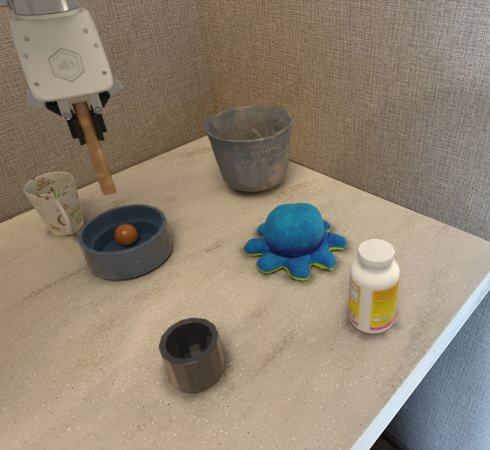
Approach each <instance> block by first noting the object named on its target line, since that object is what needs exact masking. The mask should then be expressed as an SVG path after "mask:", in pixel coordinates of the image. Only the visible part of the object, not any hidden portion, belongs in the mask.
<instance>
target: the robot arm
mask: <svg viewBox="0 0 490 450" xmlns="http://www.w3.org/2000/svg"><path fill="white" fill-rule="evenodd" d="M1 8H2V9H3V8H5V9H9V11H12V12H13V16H11V17H10V18H9V26H10V31H11V36H12V40H13V43H14V47H15V50H16V53H17V56H18V59H19V62H20V65H21V68H22V71H23V74H24V77H25V79H26V82H27V97H26V104H27V106H28V107H31V108H35V109H42V110H48V111H50V112H52V113H53V114H56V115H58V116H60V117H61V118H62V119H63V120H65V121H66V123H67V126H68V129H69V131H70V135H71V137H72V138H71V139H73V140H76V139H78V142H79V144H80V146H85V145H86V143H85V140H84V137H83V134H82V131H81V128H80V125H79V123H78V120H77V117H76V115H75V112H74V109H73V108H70V105H69V102H68V99H71V98H72V99H73V98H78V97H83V96H88V99H89V101H90V105H89V109H90V112H91V116H92V119H93V122H94V125H95V128H96V132H97V135H98V138H99V140H100V142H103V141H106V140H105V136H104V133H108V129H107V126H106V122H105V120H104V117H103V111H104V108H105V107H106V105H107V104H108V102H109V101H110V99H111V98H112V97H114V96H115V95H117V94H118V93H120V92H121V91H122V90H123V88H124V87H123V84H122V83H121V82H120V81H119V79H118V77H116V75H115V73H113V71H112V70H111V67H110V63H109V60H108V56H107V54H106V51H105V48H104V46H103V42H102V39H101V37H100V34H99V32H98V28H97V26H96V24H95V21H94V20H93V17H92V16H91V13H90V12H89V10H88V9H87V8H83V7H81V3H80V1H79V0H0V9H1Z"/></svg>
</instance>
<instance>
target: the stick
mask: <svg viewBox="0 0 490 450" xmlns="http://www.w3.org/2000/svg"><path fill="white" fill-rule="evenodd" d="M71 106H72V110H73V112H74V113H75V115H76V117H77V120H78V123H79V125H80V128H81V131H82V134H83V137H84V140H85V143H86V144H85V147H86V150H87V153H88V156H89V158H90V162H91V164H92V168H93V170H94V173H95V176H96V178H97V181H98V184H99V187H100V190H101V193H102V195H103V196H104V197H107V196H112V195H114V194H116V193H117V188H116V186H115V182H114V180H113V177H112V174H111V171H110V167H109V164H108V162H107V161H108V160H107V158H106V156H105V152H104V149H103V146H102V143H101V140H99V138H98V135H97V132H96V128H95V125H94V122H93V119H92V116H91V112H90V110H91V109H90V105H89V104H88V100H86V99H83V100H76V101H73V102H72V103H71Z"/></svg>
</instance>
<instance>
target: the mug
mask: <svg viewBox="0 0 490 450" xmlns="http://www.w3.org/2000/svg"><path fill="white" fill-rule="evenodd" d="M23 193H24V194H25V196H26V198H27V199H28V200H29V202H30V203H31V205H32V206H33V208H34V210H35V211H36V212H37V214H38V215H39V217H40V218H41V220H42V221H43V223H44V224H45V226H46V227H47V229H48V230H49V231H50V233H51V234H52V235H53V236H56V237H66V236H72V235H74V234H75V233H77V232H78V231H80V230H81V228H82V227H83V226H84V225H85V220H84V214H83V210H82V208H81V202H80V197H79V193H78V188H77V184H76V179H75V177H74V175H73V174H72V173H70V172H68V171H51V172H47V173H42V174H40V175H37V176H36V177H34V178H32V179H30V180H29V181H28V182H26V184H25V185H24V186H23Z"/></svg>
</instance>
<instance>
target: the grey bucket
mask: <svg viewBox="0 0 490 450" xmlns="http://www.w3.org/2000/svg"><path fill="white" fill-rule="evenodd" d="M294 121H295V119H294V117H293V116H292V114H291V113H290V111H289V110H287V109H285V108H284V107H280V106H276V105H270V104H267V105H264V104H259V105H258V104H257V105H256V104H254V105H253V104H251V105H248V106H242V105H240V106H233V107H229V108H226V109H222V110H221V111H220V112H218V113H217V114H211V115H210V116H209V117H207V118H206V119H205V120H204V121H203V124H202V127H203V130H204V133H205V134H206V136H207V138H208V140H209V143H210V146H211V149H212V153H213V155H214V159H215V161H216V164H217V167H218V169H219V171H220V175H221V177H222V180H223V181H224V182H225V184H227V185H228V186H229V187H230V188H233V189H234V190H237V191H241V192H249V193H250V192H252V193H253V192H263V191H266V190H271V189H272V188H275V187H277V186H278V185H279V184H281V182H282V181H283V180H284V179H285V177H286V175H287V174H288V170H289V165H290V156H291V137H292V135H291V134H292V129H293V124H294Z"/></svg>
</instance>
